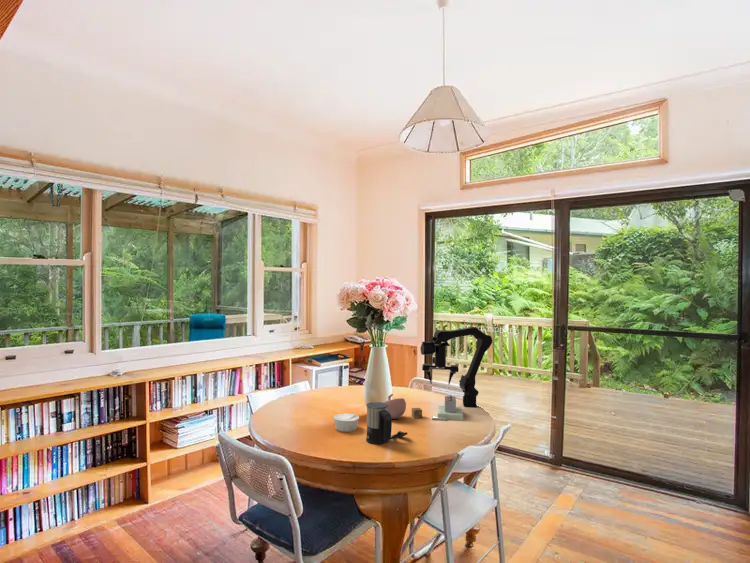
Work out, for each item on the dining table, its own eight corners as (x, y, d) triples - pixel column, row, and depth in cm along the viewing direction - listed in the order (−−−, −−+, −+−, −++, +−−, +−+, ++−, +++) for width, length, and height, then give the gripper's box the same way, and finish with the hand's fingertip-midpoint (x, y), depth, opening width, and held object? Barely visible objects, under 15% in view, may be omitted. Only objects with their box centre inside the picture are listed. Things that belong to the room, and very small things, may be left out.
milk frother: (361, 440, 183) (361, 404, 183) (385, 431, 195) (386, 397, 195) (387, 449, 174) (388, 411, 174) (411, 439, 186) (412, 403, 186)
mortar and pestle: (397, 413, 222) (398, 390, 222) (410, 420, 211) (411, 396, 211) (376, 416, 216) (376, 392, 216) (388, 423, 206) (388, 398, 206)
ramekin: (360, 432, 193) (360, 420, 193) (334, 433, 191) (334, 421, 191) (357, 424, 204) (357, 412, 204) (332, 425, 202) (332, 413, 202)
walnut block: (419, 415, 219) (419, 407, 219) (422, 418, 215) (422, 410, 215) (411, 416, 218) (411, 408, 218) (414, 418, 214) (414, 410, 214)
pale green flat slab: (461, 411, 226) (461, 406, 226) (463, 420, 212) (463, 414, 212) (437, 410, 228) (437, 405, 228) (437, 418, 214) (437, 413, 214)
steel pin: (447, 421, 211) (447, 420, 213) (447, 417, 211) (447, 417, 213) (432, 420, 212) (432, 419, 214) (432, 417, 212) (432, 416, 214)
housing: (455, 407, 224) (455, 395, 224) (455, 412, 215) (455, 399, 215) (444, 407, 224) (444, 394, 224) (444, 412, 216) (445, 399, 216)
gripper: (457, 352, 241) (457, 381, 241) (423, 351, 244) (422, 380, 244) (458, 356, 230) (458, 386, 230) (422, 354, 233) (421, 384, 233)
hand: (440, 384), depth 235 cm, fingers open, 9 cm apart
